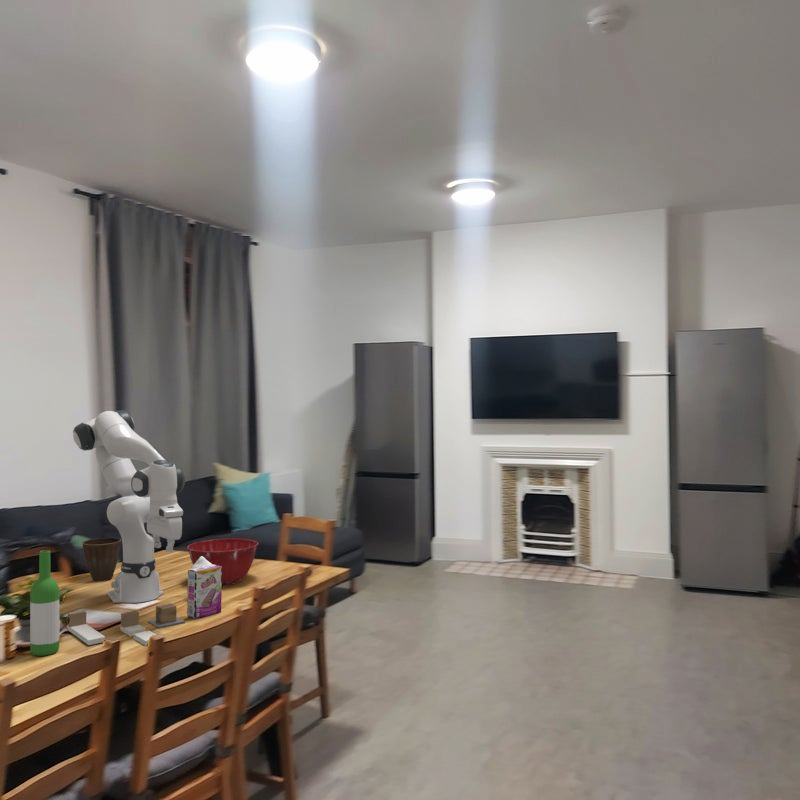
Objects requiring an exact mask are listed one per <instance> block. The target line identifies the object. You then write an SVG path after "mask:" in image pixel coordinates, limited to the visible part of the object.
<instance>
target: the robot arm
mask: <svg viewBox="0 0 800 800" xmlns="http://www.w3.org/2000/svg"><path fill="white" fill-rule="evenodd" d="M72 432H73V435H72V437H73V441H74V442H75V444H76V446H77V447H78V448H79V449H80V450H82V451H83V452H84V451H91V450H93V449H95V451H94V453H95V457H96V460H97V464H98V466H99V468H100V470H101V473H102V475H103V477H104V479H105V481H106V483H107V485H108V487H109V488H110V489H111V491H112V492H114V493H115V494H118V495H120V496H121V497H119V498H116V499H115V500H112V501H111V502H109V504H108V506H107V509H106V516H107V517H106V518H107V519H108V521H109V523H110V524H111V525H113V526H114V527H115V528H116V530H117V531H118V533H119V535H120V539H121V544H122V561H121V564H120V572H119V573H118V575H117V576H116V577H115V578H114V581H111V590H108V591H107V595H108V597H109V599H110V600H111V601H112V603H115V604H117V603H125V604H127V603H128V604H133V603H144V602H149V601H153V600H155V599H158V598H159V597H160V596H162V595H164V591H163V590H161V588H160V587H161V586H160V575H159V572H158V571H156V559H155V549H160V548H161V547H162V542H161V539H160V538H163V539H166V542H167V545H166V546H165V551H166V552H167V553H173V551H174V545H175V542H176V541H177V540H181V537H182V534H183V518H182V517H183V515H184V510H183V509H182V508H181V506H180V505H179V503H178V497H177V495H179V493H181V491H182V490H183V489H184V487H185V485H186V477H185V474H184V472H183V471H182V470H181V469H180V468H179V466H176V465H175V463H174V462H173V461H171V460H168V458H166V456H165V455H164V454H162V452H161V451H160V450H159V449H158V448H157V447H156V446H155V445H154V444H152V443H151V442H149V440H147V439H145V438H143V437H142V436H140V435H139V434H138V433H136V432H135V421H134V418H133V417H132V416H131V414H130V412H128V411H126V410H124V409H122V410H115V411H113V410H106V411H103V412H101V413H99V414H98V415H97V416H96V417H94V418H92V419H89V420H87V421H85V422H81V423H79V424H78V425H76V426H75V427H74V428H73V431H72ZM132 460H136V461H141V462H143V463H146V464H147V465H148V466H147V467H145V468H143V469H140V470H137V469H136V468H135V466H134V464H133V462H132ZM145 523H146V530H145ZM150 534H151V535H150Z"/></svg>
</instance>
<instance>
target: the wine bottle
mask: <svg viewBox="0 0 800 800" xmlns="http://www.w3.org/2000/svg"><path fill="white" fill-rule="evenodd" d="M38 553H39V555H38V556H39V559H38V560H39V561H38V563H39V564H38V569H39V571H38V572H39V573H38V576H39V577H38V579H37V580H36V581H35V582H34V583H33V584H32V586H31V588H30V593H29V594H30V595H29V596H30V603H29V604H30V605H29V606H30V607H29V610H30V611H29V613H30V615H29V618H30V619H29V623H30V624H29V625H30V626H29V629H30V630H29V637H30V638H29V639H30V641H29V644H30V647H29V648H30V649H29V650H30V653H31V654H32V656H35V657H43V656H44V657H45V656H49V655H52V654H55V653H56V652H58V650H59V649H60V585H59V584H58V582H57V581H56V580H55V579H54V578H52V575H51V574H52V573H51V550H49V549H46V550H45V549H44V550H40V551H39V552H38Z"/></svg>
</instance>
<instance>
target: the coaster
mask: <svg viewBox="0 0 800 800" xmlns="http://www.w3.org/2000/svg"><path fill="white" fill-rule="evenodd" d="M176 620H177V621H174V622H169V623H165V624H161V623H159V622H157V621H156V618H154V619H149V620H147V623H148V624H150V625H151V624H152V626H153V627H155V628H157V629H164V628H169V627H173V626H176V625H177V626H178V625H181V624H185V623H186V621H185V620H183V619H181V618H180V617H178V616H176Z"/></svg>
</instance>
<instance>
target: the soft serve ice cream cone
mask: <svg viewBox="0 0 800 800" xmlns="http://www.w3.org/2000/svg"><path fill="white" fill-rule="evenodd" d="M208 565H212V564H211V563H210V562H209V561H207V560H206V559H205V558H204V557H203V556H201V557H200V558H199V559H198V560H197V561H196V563H195V564H194V565H193V564H192V566H191V567H190V569H193V568H198V567H203V566H208Z"/></svg>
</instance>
